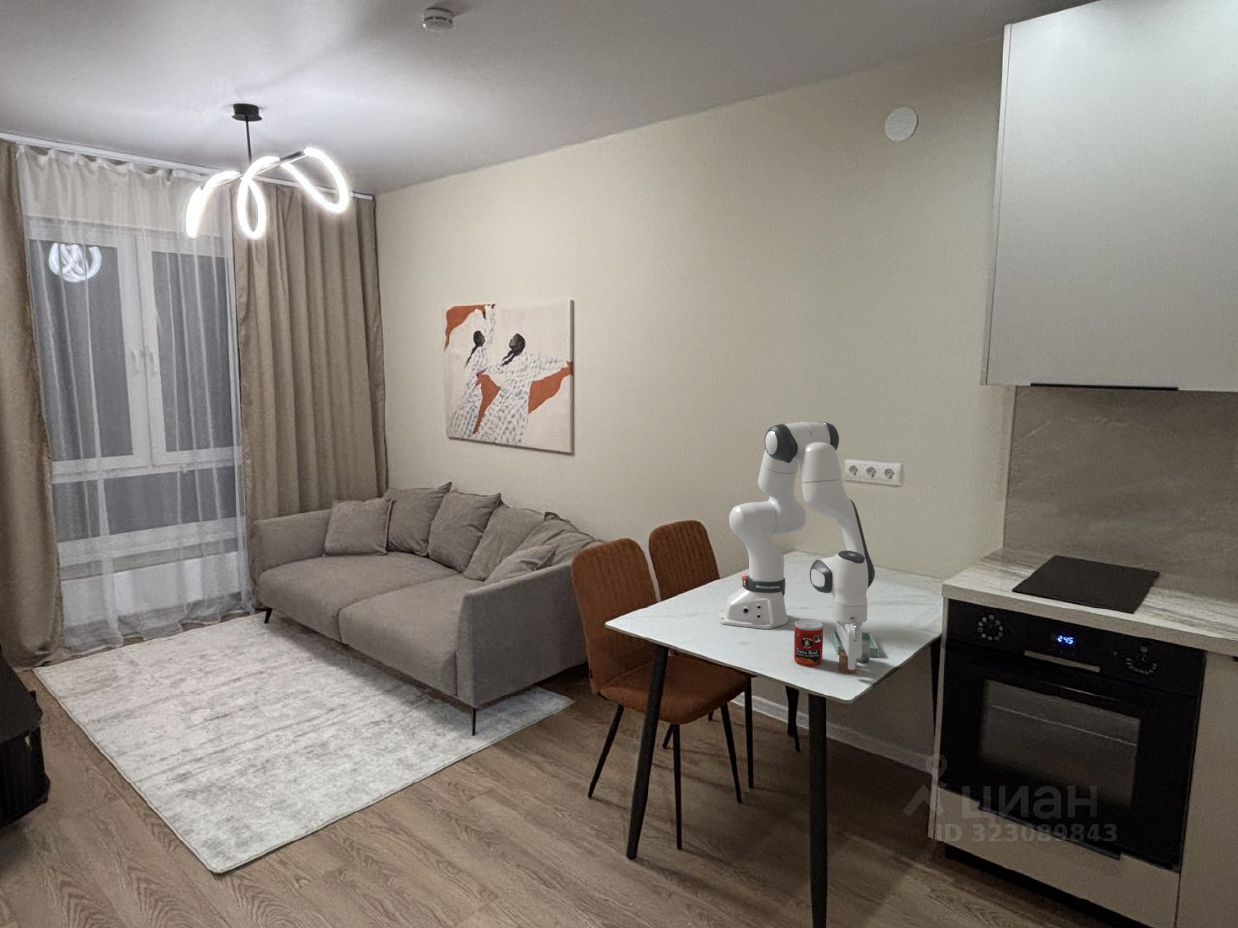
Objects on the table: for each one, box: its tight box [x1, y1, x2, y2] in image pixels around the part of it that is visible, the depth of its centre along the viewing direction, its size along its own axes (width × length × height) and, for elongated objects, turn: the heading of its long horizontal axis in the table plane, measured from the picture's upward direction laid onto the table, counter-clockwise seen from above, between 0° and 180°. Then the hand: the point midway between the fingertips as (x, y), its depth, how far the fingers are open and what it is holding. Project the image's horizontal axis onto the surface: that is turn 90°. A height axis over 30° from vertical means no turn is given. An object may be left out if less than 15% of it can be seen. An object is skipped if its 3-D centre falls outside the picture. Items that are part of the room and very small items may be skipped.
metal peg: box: [857, 641, 871, 665], centre depth 210 cm, size 4×4×5 cm
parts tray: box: [830, 630, 880, 658], centre depth 220 cm, size 11×13×2 cm
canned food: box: [793, 618, 824, 667], centre depth 209 cm, size 8×8×11 cm
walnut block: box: [838, 650, 858, 675], centre depth 204 cm, size 4×4×5 cm
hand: (848, 662), depth 203 cm, fingers open, 8 cm apart
